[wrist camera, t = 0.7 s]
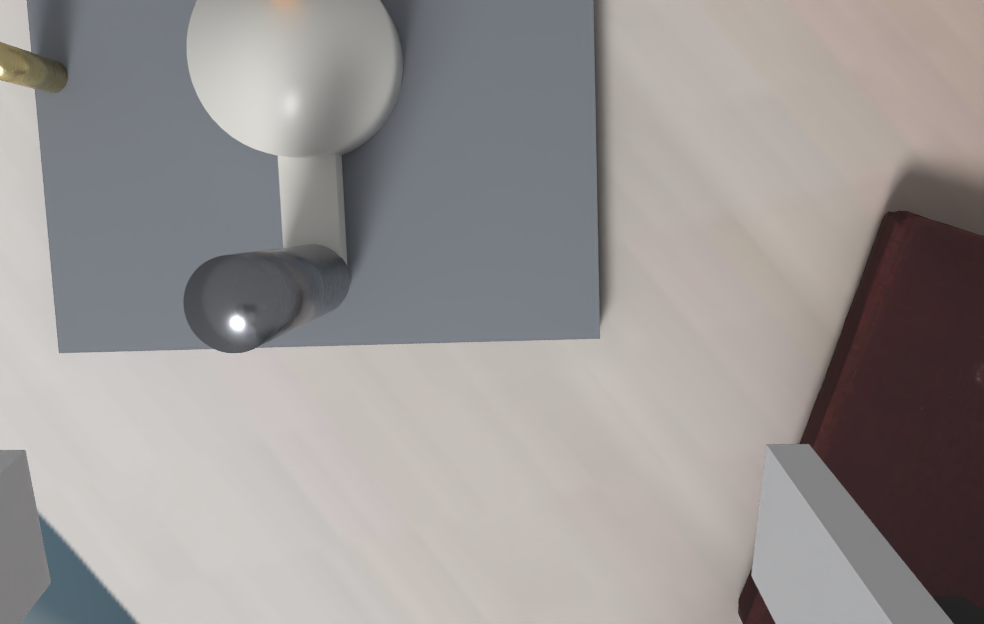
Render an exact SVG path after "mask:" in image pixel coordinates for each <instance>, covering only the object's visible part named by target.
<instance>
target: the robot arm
mask: <svg viewBox="0 0 984 624" xmlns="http://www.w3.org/2000/svg"><path fill="white" fill-rule="evenodd" d="M751 576H752V578H753V580H754V582H755V584H756V586H757V588H758V590H759V592H760V594H761V596H762V598H763V600H764V602H765V604H766V606H767V608H768V610H769V612H770V614H771V616H772V618H773V619H774V621H775V623H776V624H984V611H983V610H982V609H981V608H979V607H978V606H976V605H975V604H973V603H972V602H970V601H969V600H967V599H966V598H964V597H963V596H931V595H930V594H929V592H928V591H927V590H926V589H925V587H924V586H923V585H922V584H921V582H920V581H919V580H918V579H917V578H916V576H915V575H914V574H913V573H912V571H911V570H910V569H909V568H908V566H907V565H906V564H905V563H904V561H903V560H902V559H901V558H900V556H899V555H898V554H897V553H896V551H895V550H894V549H893V548H892V547H891V545H890V544H889V543H888V542H887V540H886V539H885V538H884V537H883V535H882V534H881V533H880V532H879V530H878V529H877V528H876V527H875V525H874V524H873V523H872V522H871V520H870V519H869V518H868V517H867V516H866V514H865V513H864V512H863V511H862V509H861V508H860V507H859V506H858V504H857V503H856V502H855V501H854V499H853V498H852V497H851V496H850V494H849V493H848V492H847V491H846V489H845V488H844V487H843V486H842V485H841V483H840V482H839V481H838V480H837V478H836V477H835V476H834V475H833V473H832V472H831V471H830V470H829V468H828V467H827V466H826V465H825V463H824V462H823V461H822V460H821V458H820V457H819V456H818V455H817V454H816V452H815V451H814V450H813V449H812V447H811V446H810V445H809V444H766V451H765V460H764V469H763V478H762V486H761V495H760V504H759V512H758V521H757V530H756V539H755V547H754V556H753V565H752V573H751ZM50 583H51V581H50V575H49V570H48V565H47V560H46V554H45V549H44V544H43V539H42V534H41V529H40V523H39V518H38V513H37V508H36V503H35V497H34V492H33V487H32V482H31V477H30V472H29V466H28V461H27V456H26V451H25V450H0V624H19V623H20V622H21V621H22V619H23V618H24V617H25V616H26V614H27V613H28V612H29V610H30V609H31V608H32V607H33V605H34V604H35V603H36V602H37V600H38V599H39V598H40V596H41V595H42V594H43V592H44V591H45V590H46V589H47V587H48V586H49V585H50Z"/></svg>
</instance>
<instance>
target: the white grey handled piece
mask: <svg viewBox="0 0 984 624" xmlns="http://www.w3.org/2000/svg"><path fill="white" fill-rule="evenodd" d="M187 62H188V69H189V73H190V77H191V80H192V84H193V86H194V89H195V91H196V93H197V96H198V98H199V99H200V101H201V103H202V105H203V107H204V108H205V109H206V111H207V112H208V114H209V115H210V116H211V118H212V119H213V120H214V121H215V122H216V123H217V124H218V125H219V126H220V127H221V128H222V129H223V130H224V131H225V132H227V133H228V134H229V135H230V136H231V137H233V138H235V139H236V140H238V141H239V142H241V143H243V144H244V145H247V146H249V147H251V148H253V149H255V150H259V151H262V152H265V153H269V154H273V155H277V156H278V170H279V187H280V203H281V220H282V236H283V248H277V249H269V250H261V251H253V252H246V253H238V254H230V255H222V256H218V257H215V258H212V259H210V260H208V261H206V262H204V263H203V264H202V265H200V266H199V267H198V268H197V269H196V270H195V271H194V273H193V274H192V275H191V277H190V279H189V280H188V283H187V285H186V288H185V292H184V299H183V306H184V313H185V316H186V319H187V322H188V324H189V326H190V328H191V330H192V331H193V332H194V334H195V335H196V336H197V337H198V338H199V339H200V340H201V341H202V342H203V343H205V344H206V345H208V346H209V347H211V348H213V349H216V350H218V351H222V352H227V353H242V352H246V351H250V350H252V349H255V348H257V347H259V346H261V345H263V344H265V343H267V342H269V341H271V340H273V339H275V338H277V337H279V336H281V335H284V334H286V333H288V332H290V331H292V330H294V329H296V328H298V327H300V326H302V325H304V324H306V323H308V322H310V321H313V320H315V319H317V318H319V317H321V316H323V315H325V314H327V313H329V312H331V311H333V310H335V309H336V308H337V307H338V306H340V305H341V303H342V302H343V301H344V299H345V298H346V296H347V294H348V291H349V287H350V274H349V270H348V267H347V249H346V230H345V210H344V191H343V172H342V155H344V154H346V153H349V152H351V151H353V150H354V149H356V148H358V147H360V146H361V145H362V144H364V143H365V142H366V141H368V140H369V139H370V138H371V137H372V136H373V135H374V134H375V133H376V132H377V131H378V130H379V129H380V128H381V127H382V125H383V124H384V123H385V122H386V120H387V118H388V117H389V115H390V113H391V112H392V110H393V108H394V105H395V103H396V101H397V98H398V95H399V91H400V88H401V82H402V75H403V56H402V47H401V43H400V39H399V35H398V32H397V30H396V27H395V24H394V22H393V20H392V18H391V17H390V15H389V13H388V11H387V10H386V8H385V7H384V5H383V4H382V2H381V1H380V0H197V1H196V4H195V6H194V9H193V11H192V14H191V18H190V22H189V26H188V33H187Z"/></svg>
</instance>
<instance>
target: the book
mask: <svg viewBox="0 0 984 624" xmlns="http://www.w3.org/2000/svg"><path fill="white" fill-rule="evenodd" d="M800 444H809V445H810V446H811V447H812V449H813V450H814V451H815V452H816V454H817V455H818V456H819V457H820V458H821V460H822V461H823V462H824V463H825V465H826V466H827V467H828V468H829V470H830V471H831V472H832V473H833V475H834V476H835V477H836V478H837V480H838V481H839V482H840V483H841V485H842V486H843V487H844V488H845V489H846V491H847V492H848V493H849V494H850V496H851V497H852V498H853V499H854V501H855V502H856V503H857V504H858V506H859V507H860V508H861V509H862V511H863V512H864V513H865V514H866V516H867V517H868V518H869V519H870V520H871V522H872V523H873V524H874V525H875V527H876V528H877V529H878V530H879V532H880V533H881V534H882V535H883V537H884V538H885V539H886V540H887V542H888V543H889V544H890V545H891V547H892V548H893V549H894V550H895V551H896V553H897V554H898V555H899V556H900V558H901V559H902V560H903V561H904V563H905V564H906V565H907V566H908V568H909V569H910V570H911V571H912V573H913V574H914V575H915V576H916V578H917V579H918V580H919V581H920V582H921V584H922V585H923V586H924V587H925V589H926V590H927V591H928V592H929V594H930V595H931V596H963V597H964V598H966V599H967V600H969V601H970V602H972V603H973V604H975V605H976V606H978V607H979V608H981V609H982V610H983V611H984V236H981V235H978V234H975V233H972V232H968V231H965V230H962V229H959V228H956V227H953V226H950V225H947V224H944V223H940V222H937V221H933V220H930V219H927V218H924V217H922V216H919V215H916V214H913V213H910V212H908V211H897V212H888V214H887V215H886V216H885V217H884V219H883V220H882V223H881V226H880V229H879V232H878V235H877V238H876V240H875V243H874V246H873V249H872V251H871V254H870V257H869V259H868V262H867V265H866V268H865V271H864V274H863V277H862V280H861V283H860V286H859V289H858V291H857V294H856V296H855V298H854V301H853V303H852V306H851V308H850V311H849V313H848V316H847V318H846V321H845V324H844V327H843V330H842V333H841V336H840V339H839V342H838V344H837V347H836V350H835V353H834V355H833V358H832V360H831V363H830V365H829V368H828V371H827V375H826V379H825V383H824V385H823V387H822V389H821V391H820V393H819V395H818V397H817V400H816V403H815V405H814V408H813V411H812V413H811V416H810V419H809V421H808V424H807V427H806V429H805V432H804V435H803V437H802V440H801V443H800ZM751 573H752V569H751V571H750V574H749V576H748V579H747V581H746V584H745V586H744V588H743V591H742V593H741V596H740V598H739V607H738V614H739V616H740V618H741V620H742V623H743V624H776V623H775V621H774V619H773V618H772V616H771V614H770V612H769V610H768V608H767V606H766V604H765V602H764V600H763V598H762V596H761V594H760V592H759V590H758V588H757V586H756V584H755V582H754V580H753V578H752V576H751Z"/></svg>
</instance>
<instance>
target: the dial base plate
mask: <svg viewBox="0 0 984 624" xmlns="http://www.w3.org/2000/svg"><path fill="white" fill-rule="evenodd" d="M196 1H197V0H27V8H28V19H29V30H30V41H31V52H29V51H26V50H23V49H20V48H17V47H14V46H11V45H7V44H4V43H1V42H0V80H2V81H6V82H10V83H14V84H17V85H21V86H25V87H29V88H33V89H35V96H36V107H37V118H38V129H39V140H40V151H41V162H42V173H43V183H44V194H45V205H46V216H47V227H48V238H49V249H50V260H51V271H52V282H53V293H54V304H55V315H56V326H57V337H58V348H59V353H78V352H115V351H153V350H190V349H213V348H211V347H209V346H208V345H206V344H205V343H203V342H202V341H201V340H200V339H199V338H198V337H197V336H196V335H195V334H194V332H193V331H192V330H191V328H190V326H189V324H188V322H187V319H186V316H185V313H184V306H183V299H184V292H185V288H186V285H187V283H188V280H189V279H190V277H191V275H192V274H193V273H194V271H195V270H196V269H197V268H198V267H199V266H200V265H202V264H203V263H204V262H206V261H208V260H210V259H212V258H215V257H218V256H222V255H230V254H238V253H246V252H253V251H261V250H269V249H277V248H283V236H282V220H281V203H280V187H279V170H278V156H277V155H273V154H269V153H265V152H262V151H259V150H255V149H253V148H251V147H249V146H247V145H244V144H243V143H241V142H239V141H238V140H236V139H235V138H233V137H231V136H230V135H229V134H228V133H227V132H225V131H224V130H223V129H222V128H221V127H220V126H219V125H218V124H217V123H216V122H215V121H214V120H213V119H212V118H211V116H210V115H209V114H208V112H207V111H206V109H205V108H204V107H203V105H202V103H201V101H200V99H199V98H198V96H197V93H196V91H195V89H194V86H193V84H192V80H191V77H190V73H189V69H188V62H187V33H188V26H189V22H190V18H191V14H192V11H193V9H194V6H195V4H196ZM380 1H381V2H382V4H383V5H384V7H385V8H386V10H387V11H388V13H389V15H390V17H391V18H392V20H393V22H394V24H395V27H396V30H397V32H398V35H399V39H400V43H401V47H402V56H403V75H402V82H401V88H400V91H399V95H398V98H397V101H396V103H395V105H394V108H393V110H392V112H391V113H390V115H389V117H388V118H387V120H386V122H385V123H384V124H383V125H382V127H381V128H380V129H379V130H378V131H377V132H376V133H375V134H374V135H373V136H372V137H371V138H370V139H369V140H368V141H366V142H365V143H364V144H362V145H361V146H360V147H358V148H356V149H354V150H353V151H351V152H349V153H346V154H344V155H342V172H343V191H344V210H345V230H346V249H347V267H348V270H349V274H350V287H349V291H348V294H347V296H346V298H345V299H344V301H343V302H342V303H341V305H340V306H338V307H337V308H336V309H335V310H333V311H331V312H329V313H327V314H325V315H323V316H321V317H319V318H317V319H315V320H313V321H310V322H308V323H306V324H304V325H302V326H300V327H298V328H296V329H294V330H292V331H290V332H288V333H286V334H284V335H281V336H279V337H277V338H275V339H273V340H271V341H269V342H267V343H265V344H263V345H261V346H259V347H257V348H265V347H302V346H339V345H377V344H414V343H451V342H489V341H526V340H563V339H600V313H599V261H598V209H597V157H596V106H595V54H594V2H593V0H380Z"/></svg>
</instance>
